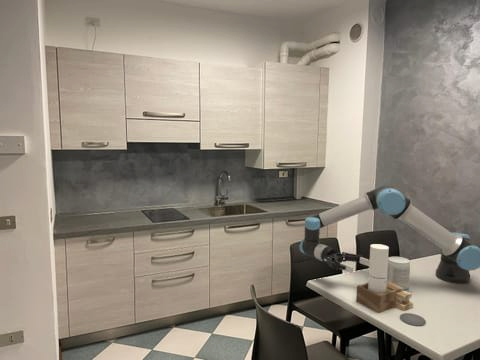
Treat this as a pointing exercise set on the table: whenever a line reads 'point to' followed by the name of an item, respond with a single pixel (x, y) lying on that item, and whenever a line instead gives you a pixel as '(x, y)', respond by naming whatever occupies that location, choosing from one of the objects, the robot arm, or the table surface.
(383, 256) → the cylindrical container
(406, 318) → the rubber mat
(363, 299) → the offcut rack
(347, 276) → the table surface
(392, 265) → the supplement tub
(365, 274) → the table surface
